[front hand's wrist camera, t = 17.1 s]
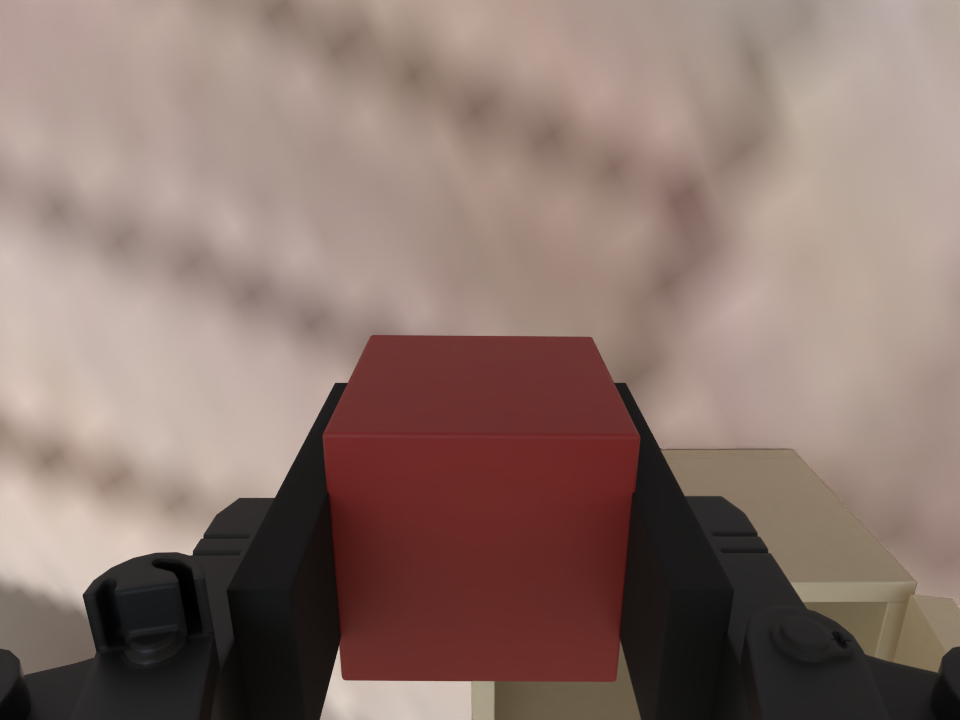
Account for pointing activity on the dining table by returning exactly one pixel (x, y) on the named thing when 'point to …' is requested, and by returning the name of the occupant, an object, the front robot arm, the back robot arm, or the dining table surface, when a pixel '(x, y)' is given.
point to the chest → (789, 538)
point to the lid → (928, 632)
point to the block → (480, 510)
